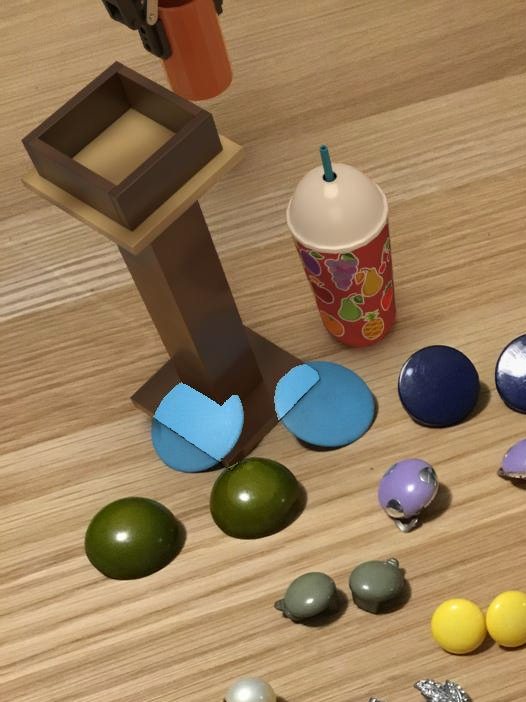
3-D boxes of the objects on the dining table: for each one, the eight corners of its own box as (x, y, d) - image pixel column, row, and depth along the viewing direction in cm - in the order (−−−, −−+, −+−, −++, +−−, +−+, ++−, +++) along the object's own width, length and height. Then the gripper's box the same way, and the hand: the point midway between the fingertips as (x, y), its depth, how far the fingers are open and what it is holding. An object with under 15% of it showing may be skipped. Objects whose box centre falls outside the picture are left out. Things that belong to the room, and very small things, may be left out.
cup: (155, 84, 104) (123, -7, 96) (199, 47, 106) (171, -46, 97) (202, 110, 102) (174, 20, 94) (246, 72, 104) (222, -20, 96)
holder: (134, 405, 101) (-11, 144, 75) (223, 318, 105) (116, 40, 78) (231, 471, 98) (116, 221, 71) (320, 379, 101) (242, 109, 75)
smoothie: (399, 280, 105) (369, 100, 87) (412, 350, 102) (385, 178, 84) (311, 296, 105) (263, 118, 87) (322, 366, 102) (274, 197, 83)
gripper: (155, -232, 88) (211, -27, 103) (21, -135, 83) (100, 64, 99) (226, -200, 86) (271, 4, 101) (92, -99, 81) (161, 98, 96)
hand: (187, 33), depth 100 cm, fingers closed on cup, 6 cm apart
